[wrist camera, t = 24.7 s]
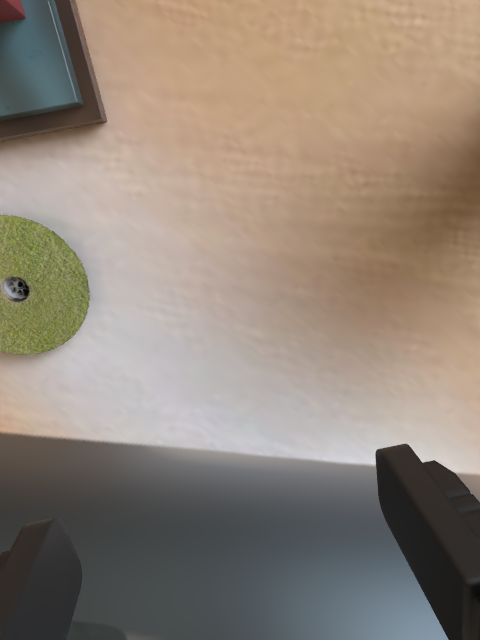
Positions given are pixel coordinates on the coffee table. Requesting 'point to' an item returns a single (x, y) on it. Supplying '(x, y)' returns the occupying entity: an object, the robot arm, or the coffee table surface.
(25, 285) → the mat
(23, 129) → the blue-grey flat block
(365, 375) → the coffee table surface
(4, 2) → the pillar block
